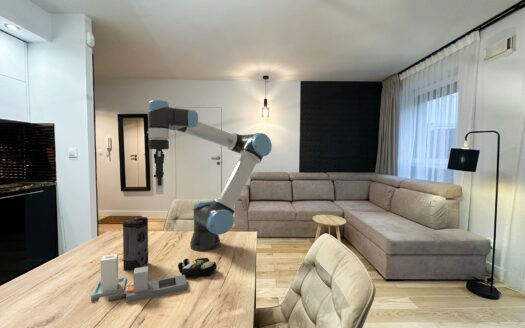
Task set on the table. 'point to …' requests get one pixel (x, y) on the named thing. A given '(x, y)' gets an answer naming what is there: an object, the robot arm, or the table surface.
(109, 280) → the charger
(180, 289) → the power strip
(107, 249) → the table surface
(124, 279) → the tray
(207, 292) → the table surface
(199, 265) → the toy
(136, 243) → the electronic device
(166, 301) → the table surface
